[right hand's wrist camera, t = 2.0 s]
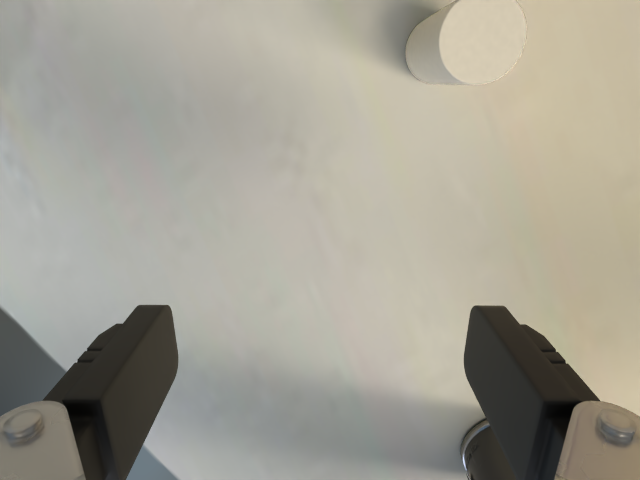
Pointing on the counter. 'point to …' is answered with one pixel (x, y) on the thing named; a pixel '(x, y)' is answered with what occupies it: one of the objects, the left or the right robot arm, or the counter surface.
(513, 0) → the canister
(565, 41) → the counter surface
